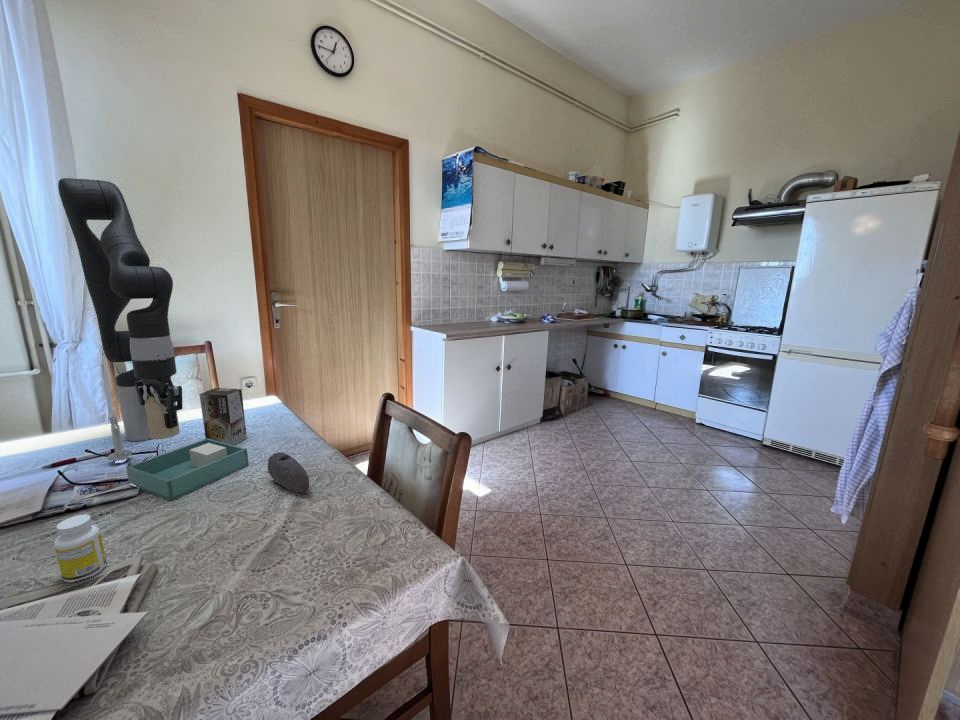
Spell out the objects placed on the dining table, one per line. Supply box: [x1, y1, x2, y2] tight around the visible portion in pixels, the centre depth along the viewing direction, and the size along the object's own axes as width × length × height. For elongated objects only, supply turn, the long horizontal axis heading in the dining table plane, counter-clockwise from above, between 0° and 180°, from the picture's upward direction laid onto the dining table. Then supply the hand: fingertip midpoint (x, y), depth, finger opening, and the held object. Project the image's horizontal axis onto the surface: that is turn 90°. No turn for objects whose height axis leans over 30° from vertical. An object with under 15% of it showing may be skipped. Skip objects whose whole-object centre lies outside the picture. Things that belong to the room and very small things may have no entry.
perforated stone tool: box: [267, 452, 310, 494], centre depth 94 cm, size 15×5×7 cm, turn 51°
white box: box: [189, 443, 227, 468], centre depth 102 cm, size 7×5×4 cm
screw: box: [107, 416, 133, 462], centre depth 103 cm, size 13×5×5 cm
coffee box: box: [199, 387, 248, 446], centre depth 117 cm, size 9×6×16 cm
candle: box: [145, 396, 180, 440], centre depth 91 cm, size 6×6×10 cm
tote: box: [125, 438, 249, 502], centre depth 98 cm, size 16×19×5 cm
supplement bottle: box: [53, 514, 107, 583], centre depth 65 cm, size 5×5×10 cm
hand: (163, 425), depth 92 cm, fingers closed on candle, 5 cm apart
